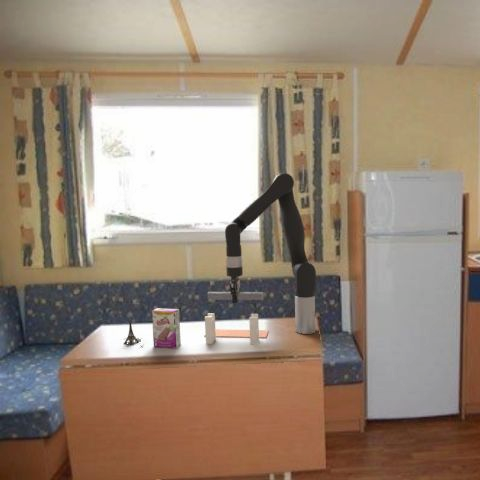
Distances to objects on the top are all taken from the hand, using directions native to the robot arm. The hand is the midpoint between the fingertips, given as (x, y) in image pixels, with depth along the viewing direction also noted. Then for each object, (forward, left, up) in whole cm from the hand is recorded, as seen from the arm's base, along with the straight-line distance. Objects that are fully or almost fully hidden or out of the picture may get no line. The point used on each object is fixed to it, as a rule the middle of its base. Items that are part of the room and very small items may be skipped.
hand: (235, 301), depth 192 cm
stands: (0, +10, -16) cm, 19 cm away
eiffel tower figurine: (+46, +15, -16) cm, 51 cm away
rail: (0, 0, +1) cm, 1 cm away
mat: (0, 0, -16) cm, 16 cm away
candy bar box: (+28, +18, -16) cm, 37 cm away
